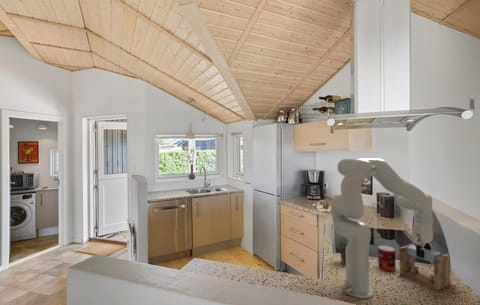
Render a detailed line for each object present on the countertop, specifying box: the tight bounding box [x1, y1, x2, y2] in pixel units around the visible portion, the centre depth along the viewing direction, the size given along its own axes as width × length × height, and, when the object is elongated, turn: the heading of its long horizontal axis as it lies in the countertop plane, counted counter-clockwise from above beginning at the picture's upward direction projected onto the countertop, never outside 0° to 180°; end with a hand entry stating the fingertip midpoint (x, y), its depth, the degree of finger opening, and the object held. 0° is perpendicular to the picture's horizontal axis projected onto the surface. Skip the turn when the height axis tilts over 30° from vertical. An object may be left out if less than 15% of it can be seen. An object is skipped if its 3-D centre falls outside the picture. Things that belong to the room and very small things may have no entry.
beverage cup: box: [338, 236, 349, 266], centre depth 140 cm, size 7×7×20 cm
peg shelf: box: [398, 243, 451, 292], centre depth 121 cm, size 12×16×14 cm
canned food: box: [377, 245, 396, 272], centre depth 133 cm, size 8×8×11 cm
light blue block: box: [407, 245, 442, 264], centre depth 121 cm, size 12×6×4 cm, turn 28°
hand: (423, 255), depth 121 cm, fingers closed on light blue block, 6 cm apart
